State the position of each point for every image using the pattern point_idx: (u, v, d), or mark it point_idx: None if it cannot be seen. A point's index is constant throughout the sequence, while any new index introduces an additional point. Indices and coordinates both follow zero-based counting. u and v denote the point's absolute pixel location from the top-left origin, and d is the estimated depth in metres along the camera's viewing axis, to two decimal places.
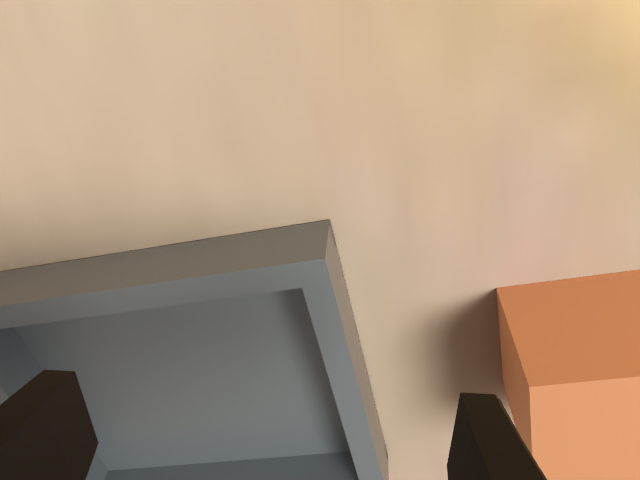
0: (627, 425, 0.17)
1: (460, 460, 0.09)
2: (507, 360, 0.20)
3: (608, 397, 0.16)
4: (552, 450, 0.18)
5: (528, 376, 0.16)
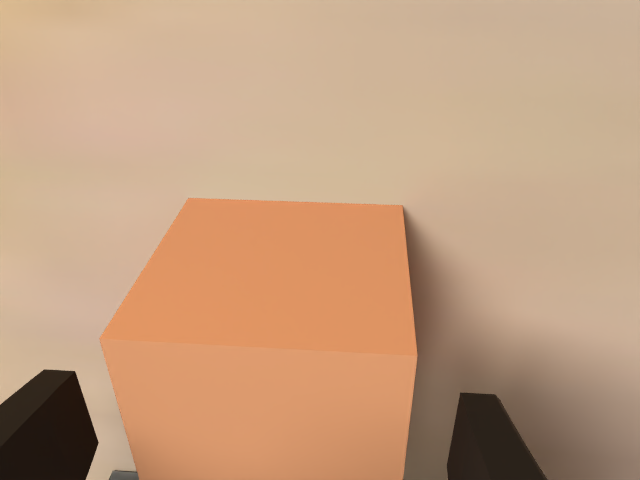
0: (238, 438, 0.10)
1: (460, 460, 0.09)
2: None
3: (171, 455, 0.10)
4: None
5: None
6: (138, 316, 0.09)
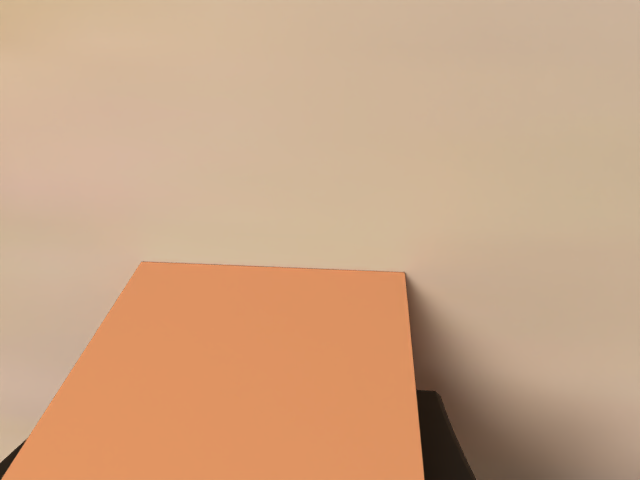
0: None
1: None
2: None
3: None
4: None
5: None
6: (45, 464, 0.07)
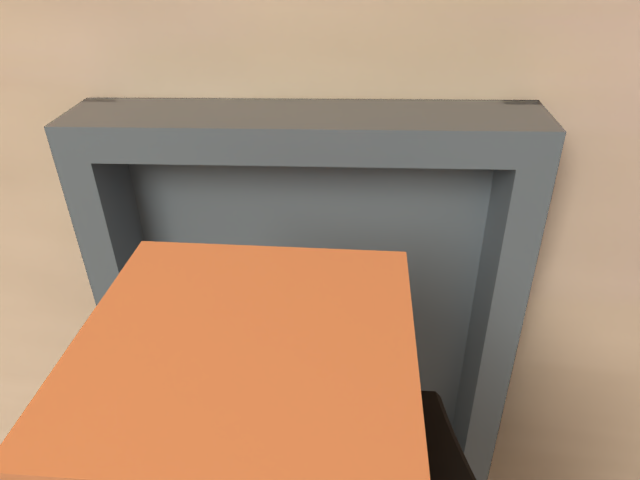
0: None
1: None
2: None
3: None
4: None
5: None
6: (44, 431, 0.07)
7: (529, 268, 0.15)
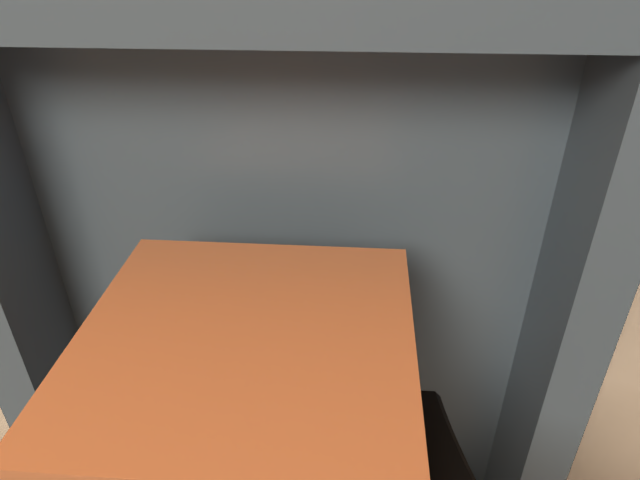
0: None
1: None
2: None
3: None
4: None
5: None
6: (43, 428, 0.07)
7: None
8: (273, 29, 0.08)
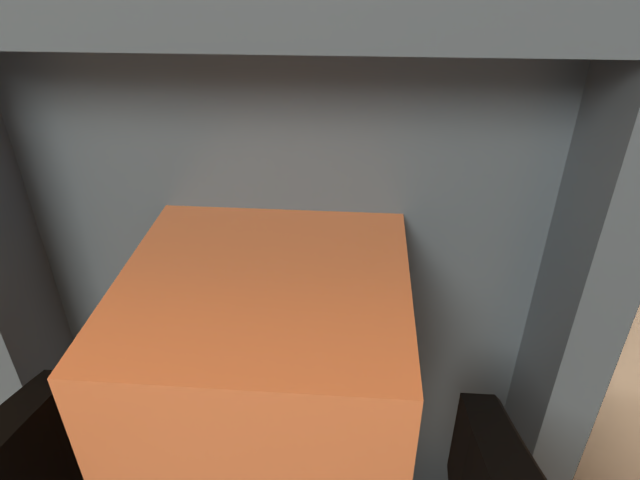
0: None
1: (460, 460, 0.09)
2: None
3: None
4: None
5: None
6: (95, 350, 0.08)
7: None
8: (269, 33, 0.08)
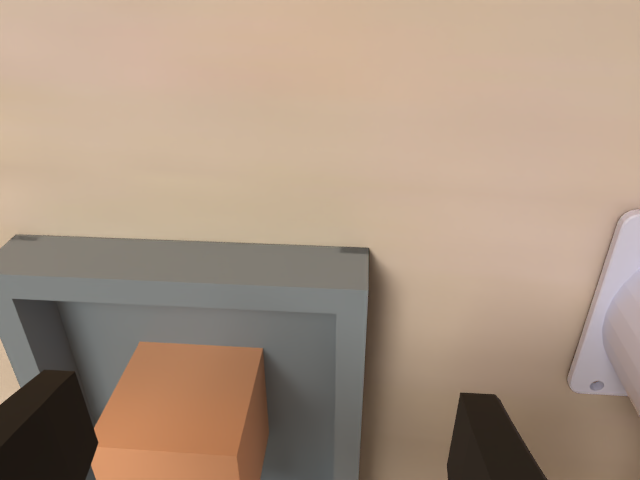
0: None
1: (460, 460, 0.09)
2: None
3: None
4: None
5: None
6: (104, 432, 0.18)
7: (359, 380, 0.19)
8: (177, 299, 0.18)
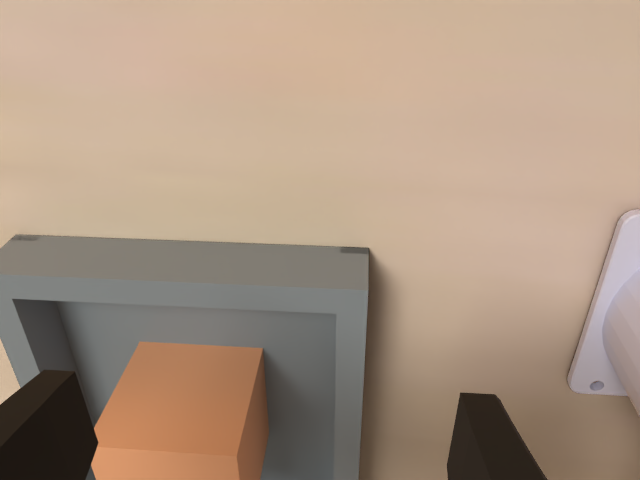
0: None
1: (460, 460, 0.09)
2: None
3: None
4: None
5: None
6: (104, 432, 0.18)
7: (359, 380, 0.19)
8: (177, 299, 0.18)
